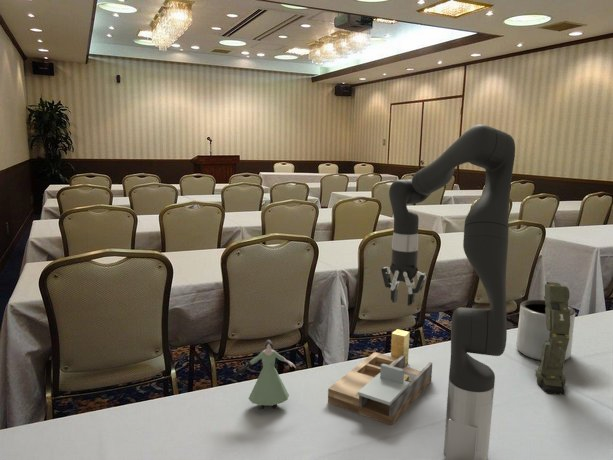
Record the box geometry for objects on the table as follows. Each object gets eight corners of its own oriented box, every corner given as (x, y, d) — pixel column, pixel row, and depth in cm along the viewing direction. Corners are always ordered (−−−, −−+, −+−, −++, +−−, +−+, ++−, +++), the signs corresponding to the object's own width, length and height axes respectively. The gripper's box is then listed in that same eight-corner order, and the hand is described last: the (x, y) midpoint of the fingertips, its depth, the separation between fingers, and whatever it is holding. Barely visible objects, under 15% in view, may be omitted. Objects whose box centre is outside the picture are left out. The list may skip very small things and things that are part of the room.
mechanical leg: (574, 399, 131) (577, 285, 132) (544, 396, 132) (548, 283, 134) (558, 386, 144) (561, 282, 146) (531, 383, 146) (535, 281, 147)
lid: (389, 405, 118) (390, 388, 117) (357, 394, 123) (358, 378, 122) (409, 385, 128) (410, 369, 127) (379, 375, 132) (379, 360, 132)
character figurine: (234, 418, 122) (233, 349, 118) (233, 401, 130) (232, 336, 126) (298, 412, 125) (299, 345, 121) (293, 396, 133) (293, 332, 129)
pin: (402, 367, 150) (404, 336, 148) (390, 364, 152) (391, 333, 150) (407, 362, 153) (409, 332, 151) (395, 359, 155) (397, 329, 153)
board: (391, 425, 120) (392, 404, 119) (327, 402, 130) (328, 383, 129) (431, 380, 142) (432, 362, 141) (374, 364, 152) (374, 347, 151)
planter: (580, 364, 153) (586, 316, 150) (527, 363, 153) (532, 315, 150) (556, 343, 169) (560, 299, 166) (508, 342, 169) (512, 298, 166)
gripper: (433, 248, 145) (429, 304, 148) (387, 242, 153) (385, 295, 156) (423, 253, 139) (420, 311, 142) (377, 246, 146) (375, 302, 150)
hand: (402, 303), depth 149 cm, fingers open, 4 cm apart
